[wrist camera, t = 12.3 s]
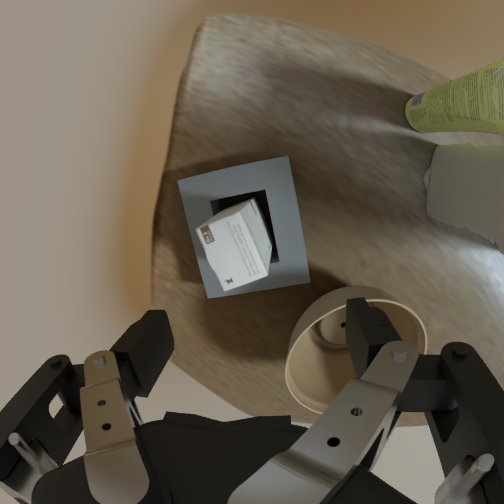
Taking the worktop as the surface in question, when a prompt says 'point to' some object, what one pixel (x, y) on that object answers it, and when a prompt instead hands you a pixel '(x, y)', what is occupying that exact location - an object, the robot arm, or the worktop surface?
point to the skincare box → (237, 244)
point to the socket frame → (281, 210)
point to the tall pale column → (468, 189)
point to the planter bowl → (338, 344)
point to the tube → (462, 104)
